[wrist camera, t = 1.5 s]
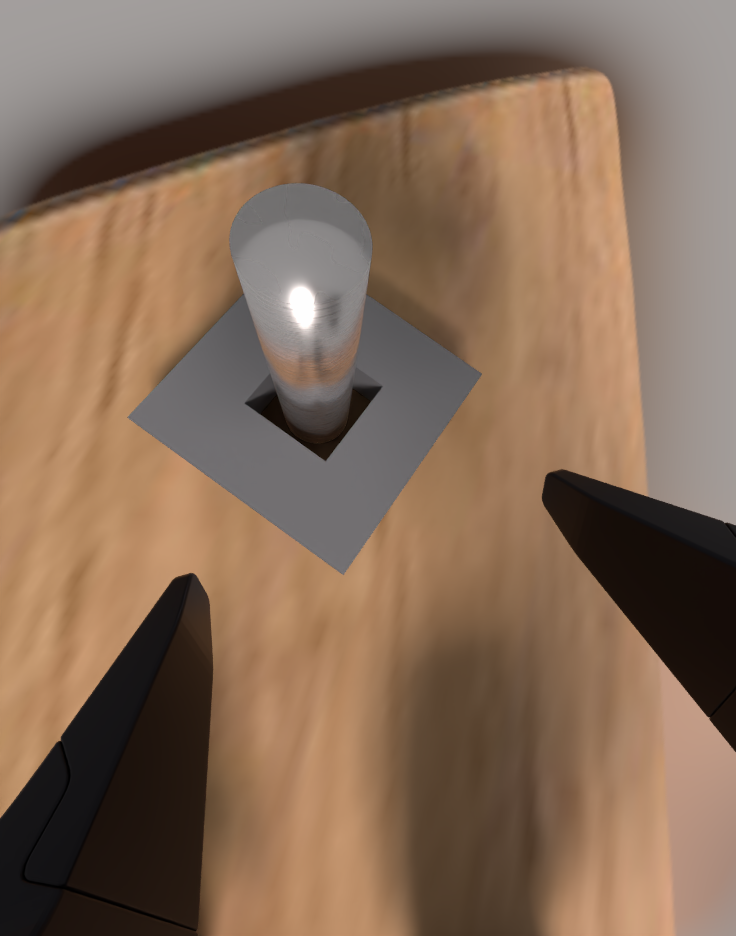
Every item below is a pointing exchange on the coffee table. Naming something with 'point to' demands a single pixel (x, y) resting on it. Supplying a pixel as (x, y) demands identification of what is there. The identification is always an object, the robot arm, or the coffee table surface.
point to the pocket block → (289, 462)
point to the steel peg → (305, 298)
